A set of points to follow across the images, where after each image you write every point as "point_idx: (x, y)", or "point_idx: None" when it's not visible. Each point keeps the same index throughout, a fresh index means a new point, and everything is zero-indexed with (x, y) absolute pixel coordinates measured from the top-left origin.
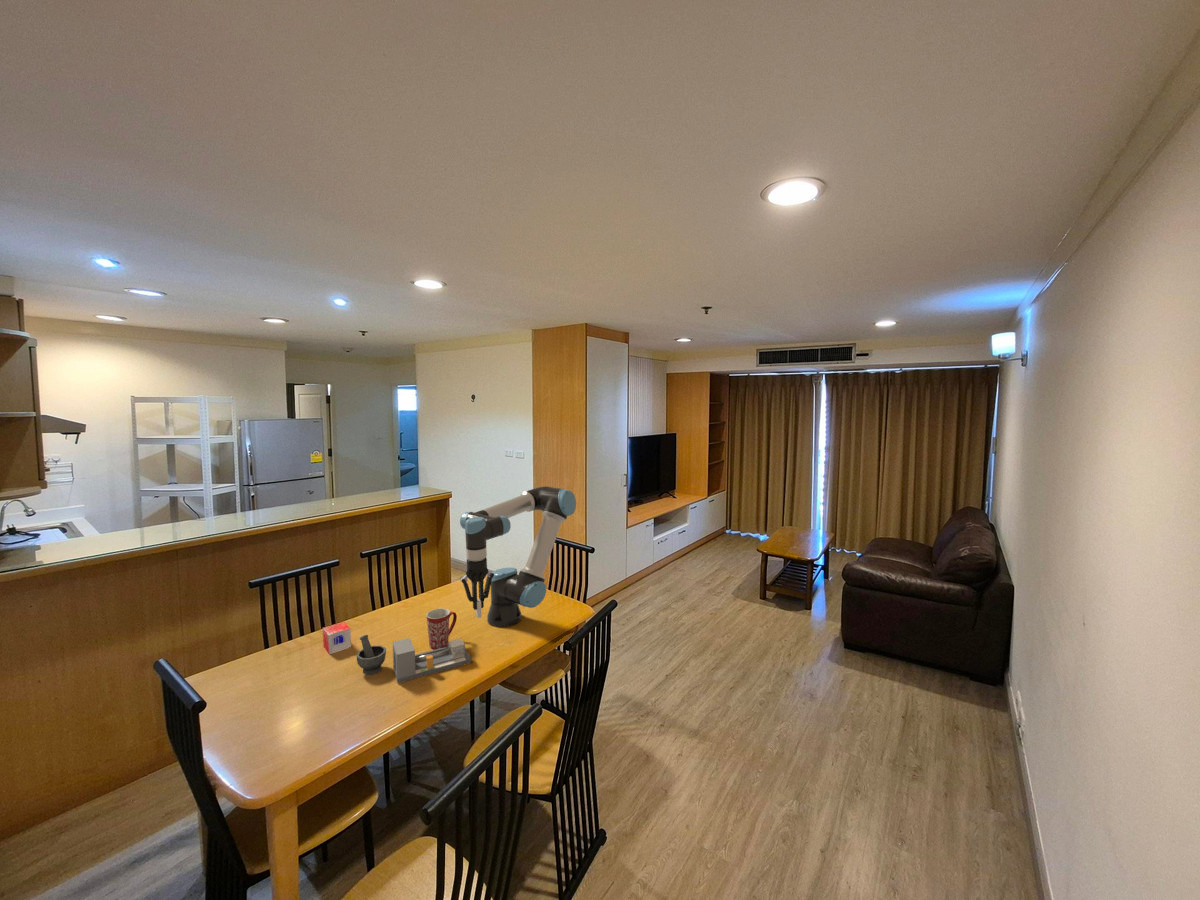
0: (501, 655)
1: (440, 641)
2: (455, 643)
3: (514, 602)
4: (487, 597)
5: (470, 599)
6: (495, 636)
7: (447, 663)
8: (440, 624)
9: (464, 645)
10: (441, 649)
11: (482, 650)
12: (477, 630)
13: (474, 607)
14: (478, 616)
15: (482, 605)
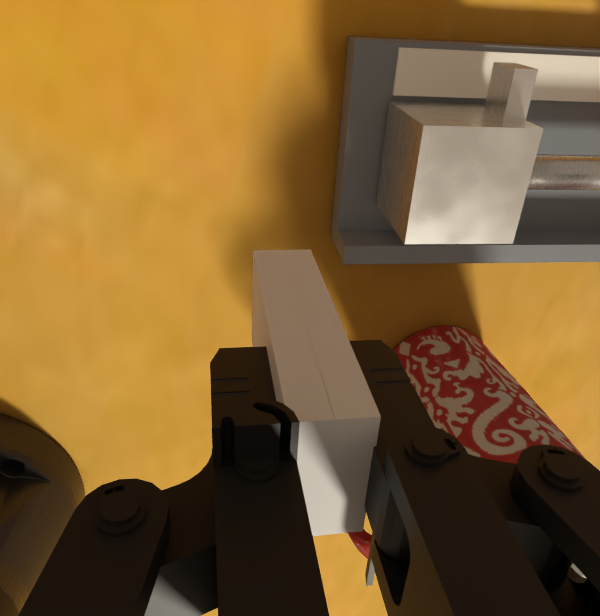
0: (85, 7)
1: (466, 351)
2: (480, 182)
3: None
4: (105, 486)
5: (583, 490)
6: (71, 318)
7: None
8: (528, 433)
9: (420, 122)
10: (516, 243)
11: (214, 176)
12: (172, 432)
13: (393, 367)
14: (304, 259)
15: (235, 376)
